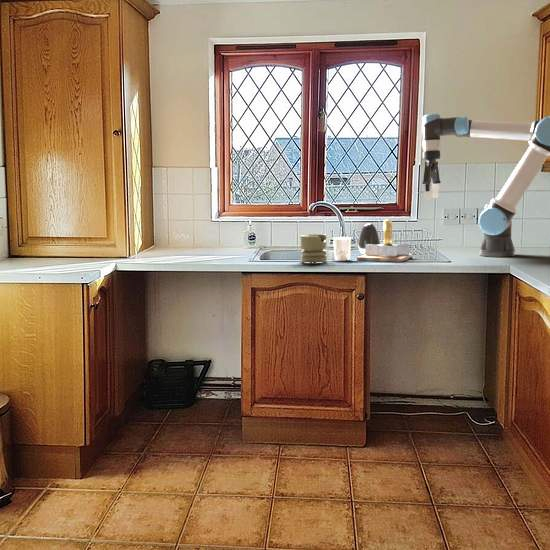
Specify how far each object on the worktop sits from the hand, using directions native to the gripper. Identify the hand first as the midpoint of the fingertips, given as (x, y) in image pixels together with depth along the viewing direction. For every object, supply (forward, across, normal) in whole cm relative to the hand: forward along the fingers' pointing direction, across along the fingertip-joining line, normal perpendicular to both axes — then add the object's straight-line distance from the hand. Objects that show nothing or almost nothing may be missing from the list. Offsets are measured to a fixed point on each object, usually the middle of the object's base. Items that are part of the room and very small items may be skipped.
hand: (431, 198), depth 286 cm
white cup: (+26, +20, -36) cm, 48 cm away
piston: (+26, +31, -45) cm, 60 cm away
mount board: (+26, +12, -19) cm, 34 cm away
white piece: (+24, +12, -18) cm, 32 cm away
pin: (+24, +13, -16) cm, 32 cm away
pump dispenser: (+26, -1, -30) cm, 40 cm away
